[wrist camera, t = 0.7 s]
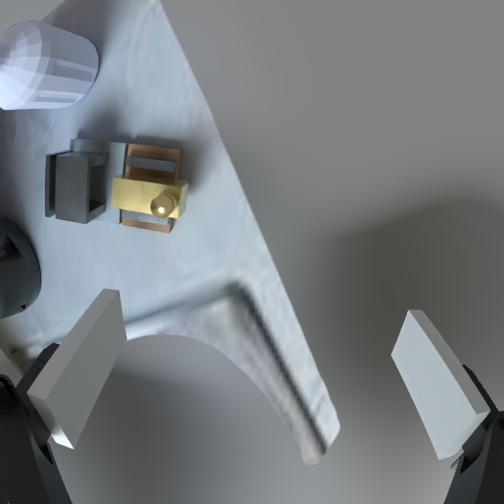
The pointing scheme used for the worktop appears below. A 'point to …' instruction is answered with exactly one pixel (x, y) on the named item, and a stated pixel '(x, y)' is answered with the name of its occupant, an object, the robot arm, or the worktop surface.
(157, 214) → the bolt
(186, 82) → the worktop surface
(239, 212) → the worktop surface
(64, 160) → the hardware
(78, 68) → the soap bottle
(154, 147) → the panel
